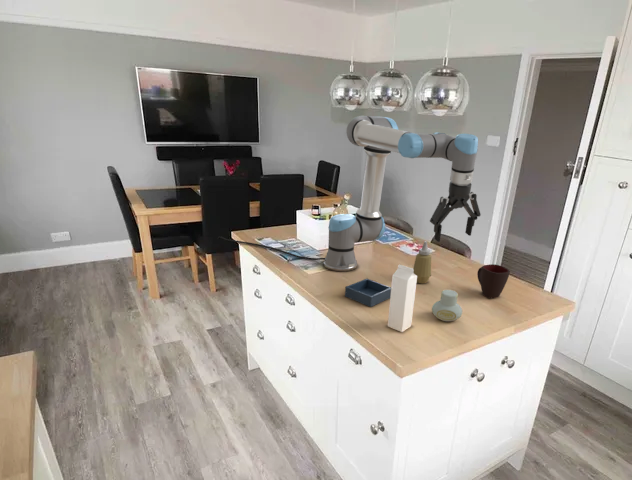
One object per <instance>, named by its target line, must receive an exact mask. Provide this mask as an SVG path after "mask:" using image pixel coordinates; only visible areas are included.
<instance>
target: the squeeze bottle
mask: <svg viewBox="0 0 632 480" xmlns="http://www.w3.org/2000/svg"><path fill="white" fill-rule="evenodd" d="M412 268H413V269H414V272H413V273H414V274H415V275H417V283H418V284H427V283H428V281H429V279H430V277H431V276H432V255H431V250H430V249H429V248H428V241H424V242H423V244H422V247H421V248H419V249H418V253H417V254H416V255H415V259H414V264H413V267H412ZM417 283H416V284H417Z"/></svg>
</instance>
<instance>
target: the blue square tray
mask: <svg viewBox="0 0 632 480" xmlns="http://www.w3.org/2000/svg"><path fill="white" fill-rule="evenodd" d="M344 290H345V291H344V297H345V298H348V299H350V300H353V301H355V302H357V303H360V304H362V305H364V306H367V307H369V308H372V307H375V306H376V305H379V304H380V303H383V302H385V301H387V300H390V296H391V286H389V285H386V284H383V283H381V282H378V281H375V280H373V279H369V278H364V279H362V280H359V281H357V282H354V283H352V284H348V285H347V286H345V287H344Z"/></svg>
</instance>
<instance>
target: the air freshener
mask: <svg viewBox="0 0 632 480" xmlns="http://www.w3.org/2000/svg"><path fill="white" fill-rule="evenodd" d="M458 297H459V294H458V292H457V291H455V290H452V289H443V290H442V291H441V293H440V299H439V300H438V301H436V302H434V303H433V305H432V306H431V312H432V314H433V315H434V317H436V318H437V319H439V320H441V321H443V322H455V321H457V320H458V319H460V318H461V317H462V315H463V309H462V308H463V307H462V306H461V305H460V304H459V303H458Z"/></svg>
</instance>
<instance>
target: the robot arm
mask: <svg viewBox="0 0 632 480" xmlns="http://www.w3.org/2000/svg"><path fill="white" fill-rule="evenodd" d="M397 124H398V123H397V122H396V121H395V119H393V118H391V117H386V116H371V115H358V116H355V117H353V118H352V119H350V121H349V122H348V124H347V126H346V133H345V134H346V136H347V139H348V141H349V142H350V143H351V144H352V145H354V146H356V147H362V148H363V151H364V152H365V153H366V157H365V168H364V174H363V182H362V191H361V198H360V207H359V208H358V209H357V210H356V212H355V215H354V214H351V213H338V214H335V215H332V216H331V217H330V219H329V220H328V221H329V222H328V249H327V252H326V254H325V257H308V256H302V255H297V254H294V253H291V252H288V251H286V250H282V249H279V248H275V247H272V246H268V245H264V244H261V243H254V242H248V241H243V240H235V239H227V238H225V237H223V236H218V237H217V238H216V240H220V239H221V240H223V241H225V242H229V243H235V244H236V243H237V244H245V245H251V246H257V247H261V248H266V249H270V250H273V251H276V252H280V253H282V254H285V255H289V256H292V257H294V258H298V259H303V260H310V261H311V260H312V261H322V260H323V267H324V268H326V269H327V270H330V271H334V272H350V271H351V272H352V271H354V270H356V269H357V267H358V261H357V258H356V254H355V244H357V243H364V242H374V241H377V240H380V239H381V238H382V237H383V235H384V234H385V230H386V223H385V219H384V217H383V215H382V214H383V213H381V211H380V207H381V206H380V205H381V198H382V192H383V184H384V179H385V178H384V177H385V170H386V164H387V158H388V156H390V154H392V152H393V153H396V154H400V155H401V157H403V158H408V159H416V158H417V159H421V158H423V159H425V158H426V159H428V158H430V159H431V158H432V159H433V158H435V159H436V158H437V159H438V158H439V159H445V160H447V161H449V162H451V170H450V177H449V185H448V196H447V197H444V196H440V197H439V201H438V204H437V206H436V208H435V210H434V211H433V213H432V216H431V217H430V219H429V223H431V224H432V225H433V232H434V240H435V241H436V242H438V243H440V242H441V237H442V236H441V235H442V229H443V228H442V227H443V225H442V223H443V222H444V221H445V220H446V218H447V217H448V216H449V214H450V213H451V212H452V211H454V210H458V209H462V208H464V210H465V211H466V213H467V215H469V216H467V218H466V219H467V220H466V226H465V234H466V235H467V236H469V237H471V236H472V233H473V227H474V226H475V222H476V221H477V220H478V218H480V217H481V215H482V213H481V211H480V207H479V204H478V200H477V199H478V198H477V196H478V194H476V193H475V192H473V191H471V190H472V182H473V178H474V173H475V163H476V158H477V154H478V151H479V149H478V147H479V146H478V145H479V138H478V136H477V135H475V134H471V133H459V134H456V136H452V135H449V134H447V133H445V132H439V131H438V132H437V131H436V132H433V133H419V132H418V133H417V132H411V131H406V130H402V129H400V128H399V126H398V125H397ZM469 201H470V204H471V205H469V203H468V202H469ZM470 206H471V207H472V208H471V207H470Z"/></svg>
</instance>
